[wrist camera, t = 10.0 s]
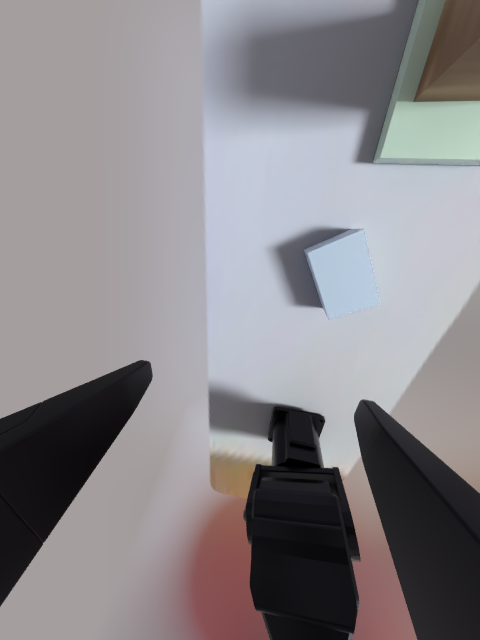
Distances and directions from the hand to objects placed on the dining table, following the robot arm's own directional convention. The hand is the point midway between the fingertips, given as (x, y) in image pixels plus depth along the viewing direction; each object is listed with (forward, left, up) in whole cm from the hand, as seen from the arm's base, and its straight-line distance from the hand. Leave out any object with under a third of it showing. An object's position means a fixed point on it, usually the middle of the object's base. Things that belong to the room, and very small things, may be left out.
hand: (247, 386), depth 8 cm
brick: (+3, -6, -13) cm, 15 cm away
